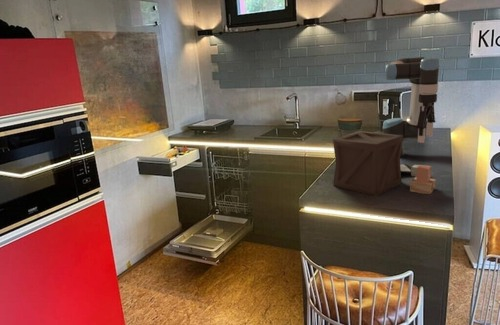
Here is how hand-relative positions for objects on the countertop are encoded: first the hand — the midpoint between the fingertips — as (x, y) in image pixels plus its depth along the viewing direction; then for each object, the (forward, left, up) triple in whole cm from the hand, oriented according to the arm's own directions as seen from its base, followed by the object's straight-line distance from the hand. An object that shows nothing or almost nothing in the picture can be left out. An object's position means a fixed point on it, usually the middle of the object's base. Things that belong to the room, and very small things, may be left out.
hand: (425, 139), depth 178 cm
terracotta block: (0, 0, -20) cm, 20 cm away
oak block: (0, 0, -25) cm, 25 cm away
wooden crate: (+4, -26, -25) cm, 36 cm away
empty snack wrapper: (-23, -28, -25) cm, 44 cm away
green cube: (-22, -8, -25) cm, 34 cm away
